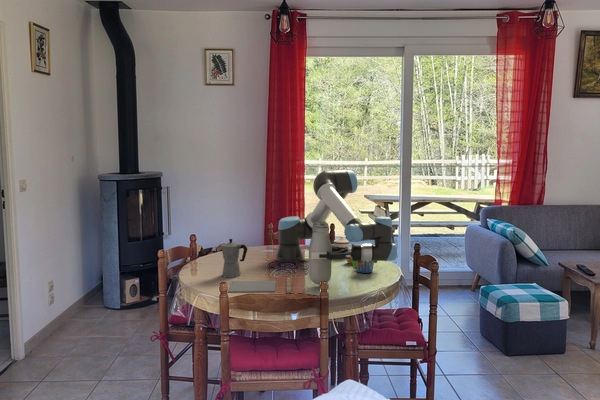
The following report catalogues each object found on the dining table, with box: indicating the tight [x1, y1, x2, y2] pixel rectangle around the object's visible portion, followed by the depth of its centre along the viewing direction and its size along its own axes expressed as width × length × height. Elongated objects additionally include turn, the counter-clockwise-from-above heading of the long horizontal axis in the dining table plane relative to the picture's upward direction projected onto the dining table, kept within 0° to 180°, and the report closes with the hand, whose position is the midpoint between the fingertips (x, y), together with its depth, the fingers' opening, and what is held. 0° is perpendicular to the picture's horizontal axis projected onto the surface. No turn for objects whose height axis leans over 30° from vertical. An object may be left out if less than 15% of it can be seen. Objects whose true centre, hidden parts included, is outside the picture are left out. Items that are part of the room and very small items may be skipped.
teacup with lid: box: [331, 235, 351, 248], centre depth 276 cm, size 12×9×12 cm
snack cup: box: [351, 260, 378, 274], centre depth 242 cm, size 16×10×10 cm
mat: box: [227, 280, 277, 293], centre depth 219 cm, size 16×20×1 cm
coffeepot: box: [218, 238, 248, 278], centre depth 237 cm, size 15×9×18 cm, turn 68°
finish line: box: [285, 278, 292, 294], centre depth 218 cm, size 20×2×1 cm, turn 1°
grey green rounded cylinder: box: [308, 221, 333, 285], centre depth 216 cm, size 10×10×28 cm
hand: (310, 252), depth 216 cm, fingers closed on grey green rounded cylinder, 10 cm apart
